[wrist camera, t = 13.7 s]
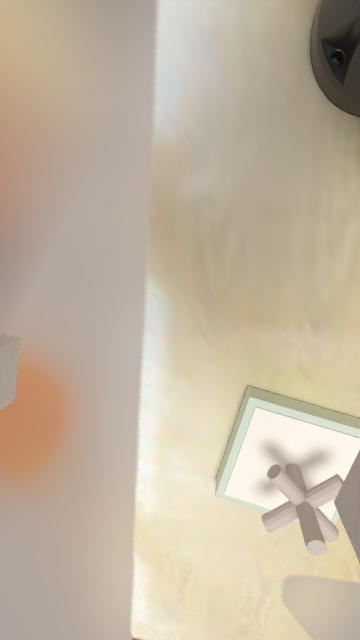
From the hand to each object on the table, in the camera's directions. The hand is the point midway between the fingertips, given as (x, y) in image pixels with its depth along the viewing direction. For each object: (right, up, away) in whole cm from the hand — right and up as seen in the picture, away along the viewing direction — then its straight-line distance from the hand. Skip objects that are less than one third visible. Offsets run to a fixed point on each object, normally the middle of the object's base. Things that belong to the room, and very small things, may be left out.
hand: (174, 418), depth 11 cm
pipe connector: (+15, -15, +26) cm, 34 cm away
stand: (+15, -15, +29) cm, 36 cm away
